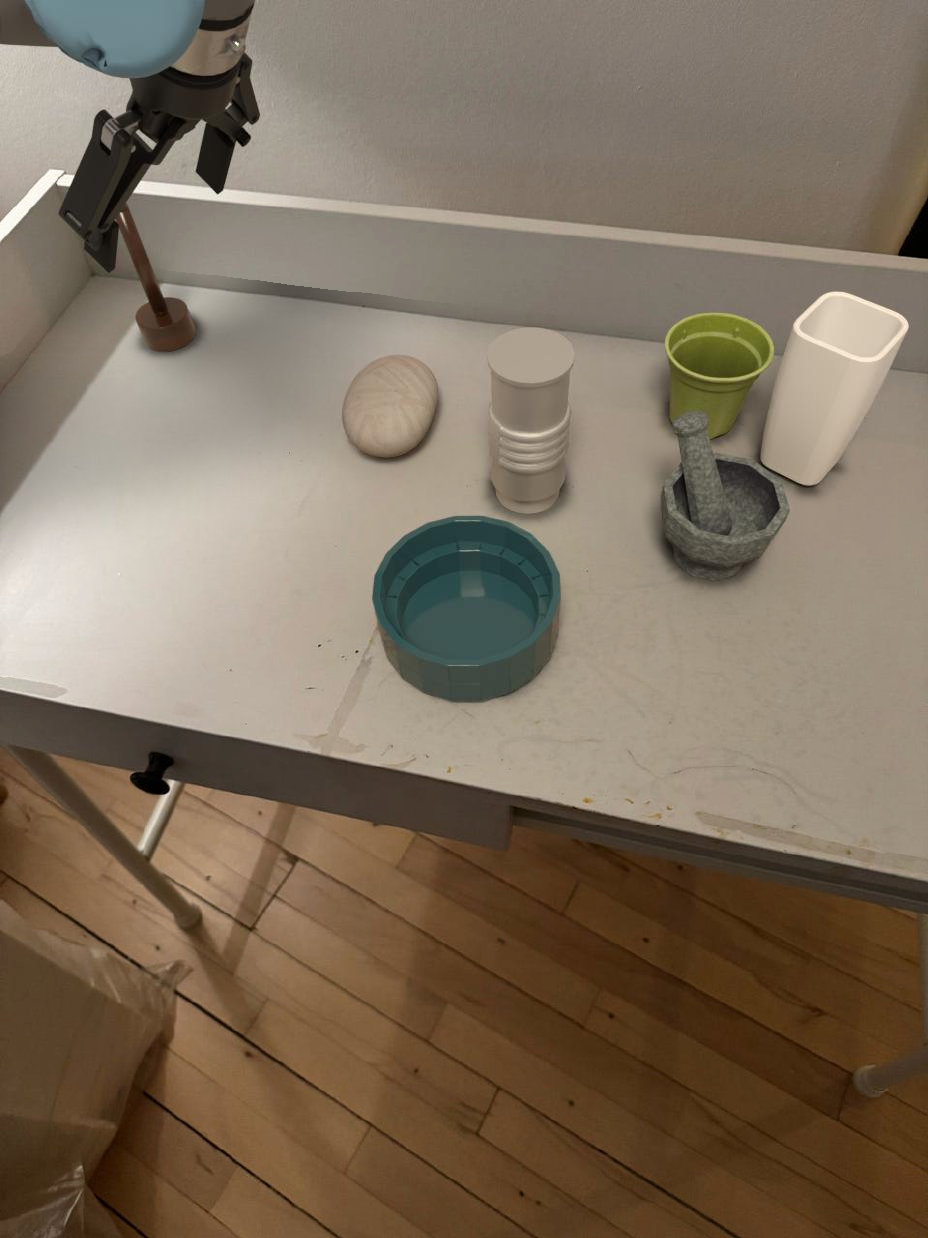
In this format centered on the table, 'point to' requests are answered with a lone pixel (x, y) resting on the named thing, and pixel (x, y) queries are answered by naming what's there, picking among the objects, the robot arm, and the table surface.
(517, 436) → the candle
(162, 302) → the wooden peg stand
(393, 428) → the decorative stone
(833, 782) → the table surface
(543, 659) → the bowl
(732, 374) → the plant pot
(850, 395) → the cup
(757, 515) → the mortar and pestle
